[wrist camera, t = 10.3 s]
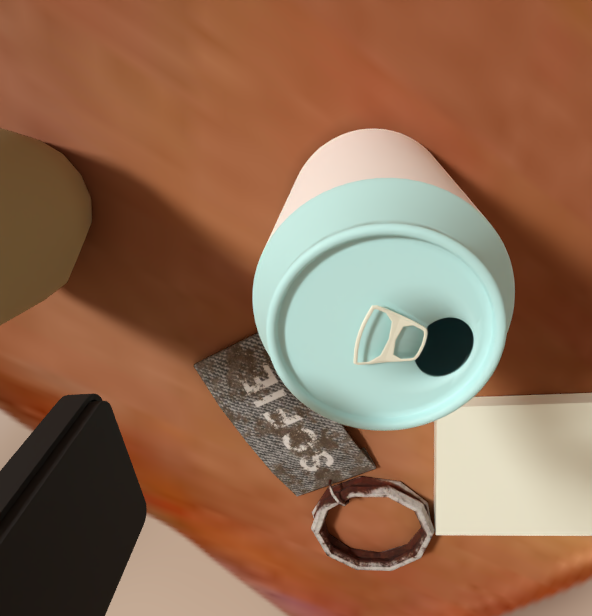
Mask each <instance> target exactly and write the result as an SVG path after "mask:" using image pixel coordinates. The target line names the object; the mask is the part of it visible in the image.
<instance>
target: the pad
mask: <svg viewBox="0 0 592 616" xmlns="http://www.w3.org/2000/svg"><path fill="white" fill-rule="evenodd" d="M434 528H435V533H436V535H523V536H592V393H574V394H546V395H518V396H490V397H473V398H472V399H471V400H469V401H468V402H467V403H466V404H464V405H463V406H462V407H460V408H459V409H457V410H456V411H454V412H452V413H450V414H449V415H447V416H445V417H443V418H440V419H438V420H436V421H434Z"/></svg>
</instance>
